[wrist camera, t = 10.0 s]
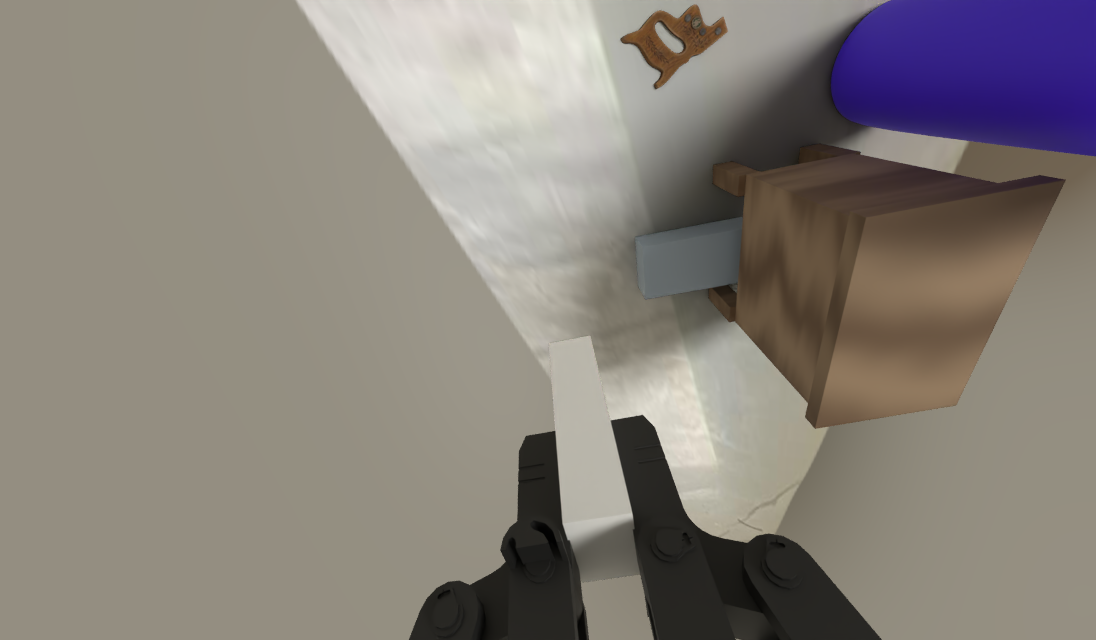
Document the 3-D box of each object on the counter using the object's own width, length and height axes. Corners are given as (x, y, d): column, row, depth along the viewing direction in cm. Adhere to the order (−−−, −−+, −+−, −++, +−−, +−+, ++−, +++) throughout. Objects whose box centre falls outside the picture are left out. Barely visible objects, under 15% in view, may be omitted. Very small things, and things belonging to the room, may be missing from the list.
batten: (633, 235, 35) (642, 247, 33) (804, 203, 34) (826, 213, 32) (637, 284, 38) (645, 299, 35) (795, 256, 37) (816, 269, 34)
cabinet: (713, 158, 32) (866, 217, 17) (820, 137, 31) (1065, 179, 17) (708, 302, 39) (815, 428, 24) (796, 286, 38) (955, 405, 24)
